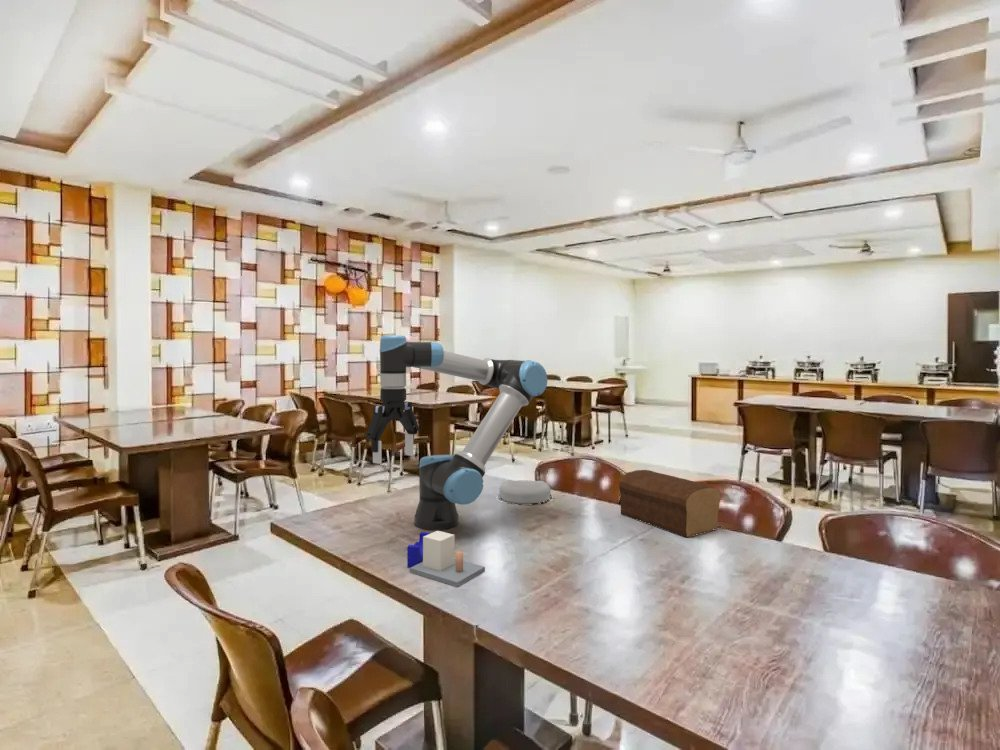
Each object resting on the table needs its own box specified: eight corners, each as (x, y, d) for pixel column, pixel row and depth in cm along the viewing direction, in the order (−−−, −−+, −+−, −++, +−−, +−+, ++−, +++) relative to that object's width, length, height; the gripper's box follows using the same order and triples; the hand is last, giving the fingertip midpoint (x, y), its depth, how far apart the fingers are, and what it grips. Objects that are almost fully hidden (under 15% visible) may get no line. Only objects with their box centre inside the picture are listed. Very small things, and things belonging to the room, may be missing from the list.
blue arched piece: (416, 551, 165) (416, 531, 165) (431, 553, 164) (431, 532, 164) (402, 567, 153) (402, 546, 153) (418, 569, 153) (417, 547, 152)
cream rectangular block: (437, 558, 156) (437, 530, 156) (454, 563, 153) (454, 534, 153) (423, 565, 151) (423, 536, 151) (440, 570, 148) (440, 541, 148)
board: (438, 558, 160) (438, 536, 160) (484, 571, 151) (485, 548, 151) (409, 572, 150) (409, 549, 150) (457, 587, 141) (457, 562, 141)
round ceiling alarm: (488, 505, 214) (488, 489, 214) (499, 489, 239) (499, 474, 238) (553, 509, 210) (554, 493, 209) (558, 492, 234) (558, 477, 234)
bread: (684, 539, 177) (685, 489, 176) (617, 515, 202) (617, 470, 201) (720, 530, 187) (722, 482, 186) (652, 507, 212) (653, 465, 211)
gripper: (412, 384, 178) (412, 450, 179) (352, 389, 157) (352, 465, 158) (430, 385, 174) (430, 453, 175) (371, 391, 153) (372, 468, 154)
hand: (393, 459), depth 167 cm, fingers open, 13 cm apart
